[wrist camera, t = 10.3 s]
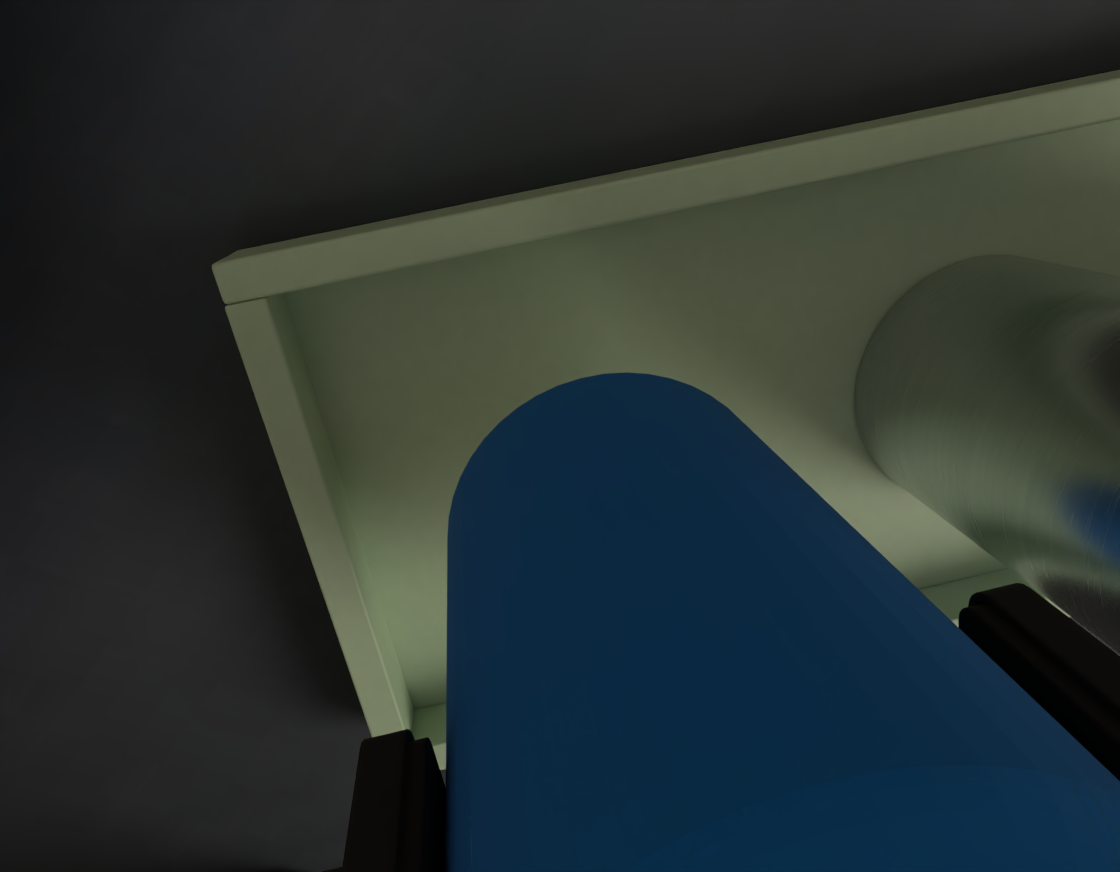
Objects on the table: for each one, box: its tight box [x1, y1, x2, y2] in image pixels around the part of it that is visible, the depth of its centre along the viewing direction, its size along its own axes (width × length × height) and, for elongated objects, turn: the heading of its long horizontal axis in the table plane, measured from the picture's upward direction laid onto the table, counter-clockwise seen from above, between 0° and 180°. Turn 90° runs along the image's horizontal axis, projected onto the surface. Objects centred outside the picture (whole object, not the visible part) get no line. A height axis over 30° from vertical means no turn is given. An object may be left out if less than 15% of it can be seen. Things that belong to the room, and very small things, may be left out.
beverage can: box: [445, 372, 1120, 872], centre depth 11 cm, size 6×6×12 cm
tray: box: [212, 70, 1120, 770], centre depth 19 cm, size 13×28×2 cm, turn 101°
